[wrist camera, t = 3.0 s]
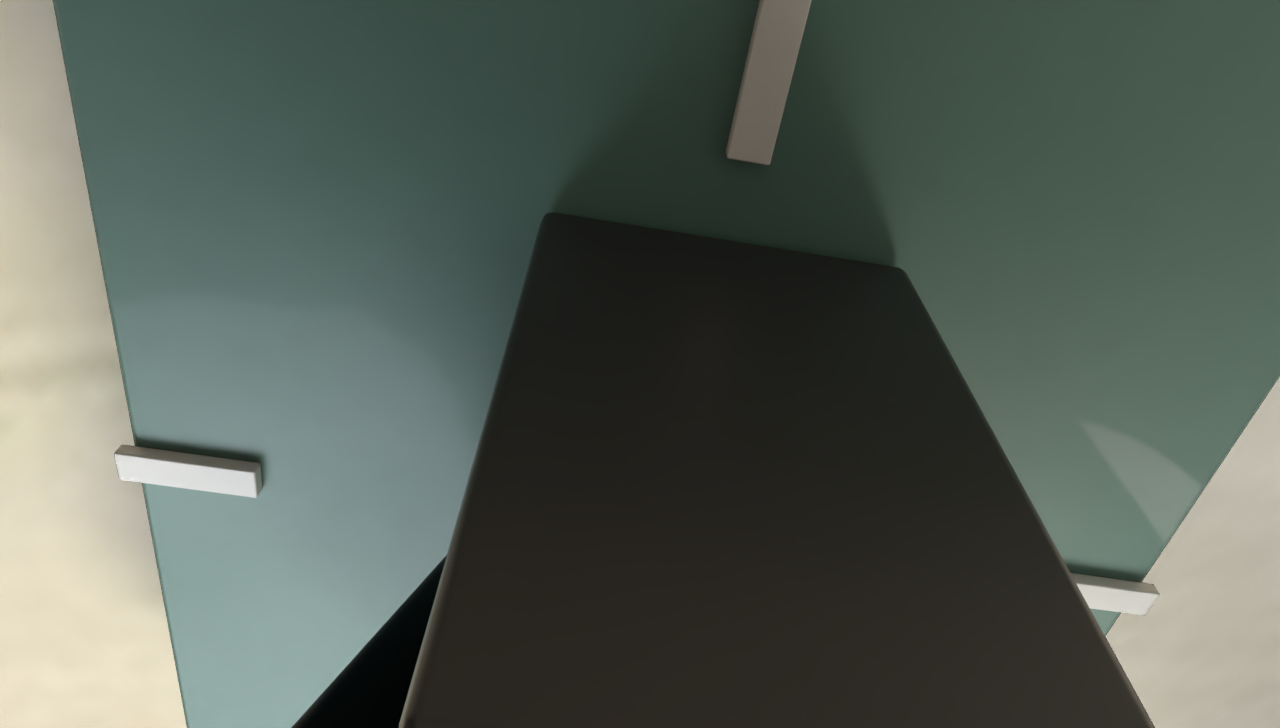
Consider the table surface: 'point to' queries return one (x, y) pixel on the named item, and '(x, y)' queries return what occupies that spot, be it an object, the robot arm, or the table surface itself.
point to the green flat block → (656, 198)
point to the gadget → (746, 513)
